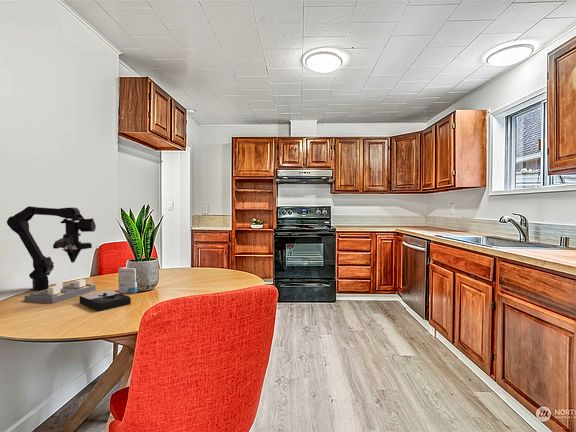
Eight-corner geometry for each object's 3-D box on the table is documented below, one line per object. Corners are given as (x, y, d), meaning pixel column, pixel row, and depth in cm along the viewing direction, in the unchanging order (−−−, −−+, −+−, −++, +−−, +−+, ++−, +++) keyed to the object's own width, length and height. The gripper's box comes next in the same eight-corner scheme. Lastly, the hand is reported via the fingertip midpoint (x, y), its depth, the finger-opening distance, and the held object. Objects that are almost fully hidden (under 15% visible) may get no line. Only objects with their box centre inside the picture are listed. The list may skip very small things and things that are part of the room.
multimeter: (98, 312, 135) (98, 300, 135) (79, 304, 147) (78, 292, 147) (131, 305, 146) (131, 293, 146) (110, 297, 158) (110, 287, 158)
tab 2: (47, 294, 152) (47, 287, 152) (55, 292, 155) (54, 285, 155) (53, 294, 151) (53, 288, 151) (60, 292, 154) (60, 286, 154)
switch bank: (24, 301, 151) (24, 294, 151) (70, 288, 174) (70, 282, 174) (52, 303, 147) (52, 296, 147) (95, 290, 171) (95, 284, 170)
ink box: (140, 290, 169) (140, 266, 169) (134, 293, 164) (134, 268, 164) (124, 290, 170) (123, 266, 170) (118, 292, 165) (117, 268, 165)
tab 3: (74, 287, 165) (74, 280, 165) (80, 285, 169) (80, 279, 169) (79, 287, 165) (79, 281, 164) (85, 285, 168) (85, 279, 168)
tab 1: (50, 289, 160) (50, 283, 160) (57, 288, 163) (57, 281, 163) (56, 290, 159) (56, 283, 159) (62, 288, 163) (62, 282, 163)
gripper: (42, 233, 170) (43, 264, 170) (74, 233, 165) (74, 265, 166) (62, 231, 180) (63, 260, 181) (92, 231, 176) (92, 262, 177)
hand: (72, 262), depth 176 cm, fingers closed
